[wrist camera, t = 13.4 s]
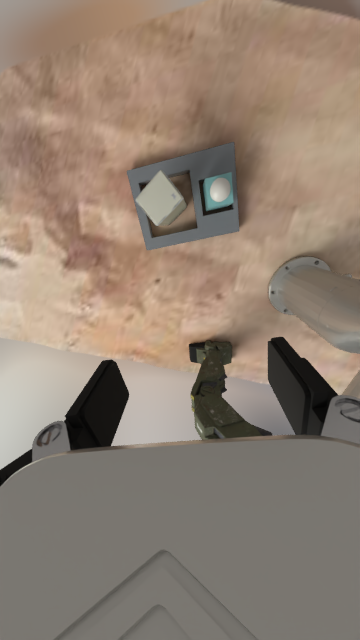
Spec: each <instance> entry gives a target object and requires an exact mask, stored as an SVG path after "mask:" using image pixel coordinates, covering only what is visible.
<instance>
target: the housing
mask: <svg viewBox="0 0 360 640" xmlns="http://www.w3.org/2000/svg"><path fill="white" fill-rule="evenodd" d="M160 170H162V171H163V172H164V173H165V174H166V175H167V177H168V178H171V177H175V176H179V175H183V174H186V173H190V180H191V187H192V194H193V201H194V208H195V215H196V222H197V228H196V229H191V230H187V231H182V232H178V233H173V234H168V235H164V236H159V237H155V238H153V234H152V229H151V225H150V221H149V217H148V216H147V214H146V213H145V212H144V211H143V209H142V208H141V207H140V206H139V204H138V203H137V202H136V198H137V197H138V196H139V194H140V193H141V192H142V187H141V185H144V184H148V183H149V182H150V181H151V180H152V179H153V177H154V176H155V175H156V174H157V173H158V172H159V171H160ZM230 172H232V187H233V202H234V203H232V204H231V210H228V211H224V212H219V213H215V214H210V215H206V216H203V212H202V204H201V196H200V188H199V182H203V181H204V180H205V179H206V178H210V177H214V176H218V175H222V174H226V173H230ZM127 175H128V178H129V182H130V186H131V190H132V194H133V198H134V202H135V206H136V210H137V214H138V217H139V221H140V225H141V229H142V233H143V237H144V241H145V245H146V249H147V250H152V249H157V248H161V247H166V246H171V245H176V244H180V243H185V242H190V241H195V240H199V239H204V238H209V237H214V236H218V235H223V234H228V233H233V232H237V231H239V217H238V200H237V183H236V166H235V149H234V142H231V143H228V144H224V145H220V146H217V147H213V148H209V149H206V150H202V151H198V152H195V153H191V154H187V155H184V156H180V157H176V158H173V159H169V160H165V161H162V162H158V163H154V164H151V165H147V166H143V167H140V168H136V169H132V170H129V171H127Z"/></svg>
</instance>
